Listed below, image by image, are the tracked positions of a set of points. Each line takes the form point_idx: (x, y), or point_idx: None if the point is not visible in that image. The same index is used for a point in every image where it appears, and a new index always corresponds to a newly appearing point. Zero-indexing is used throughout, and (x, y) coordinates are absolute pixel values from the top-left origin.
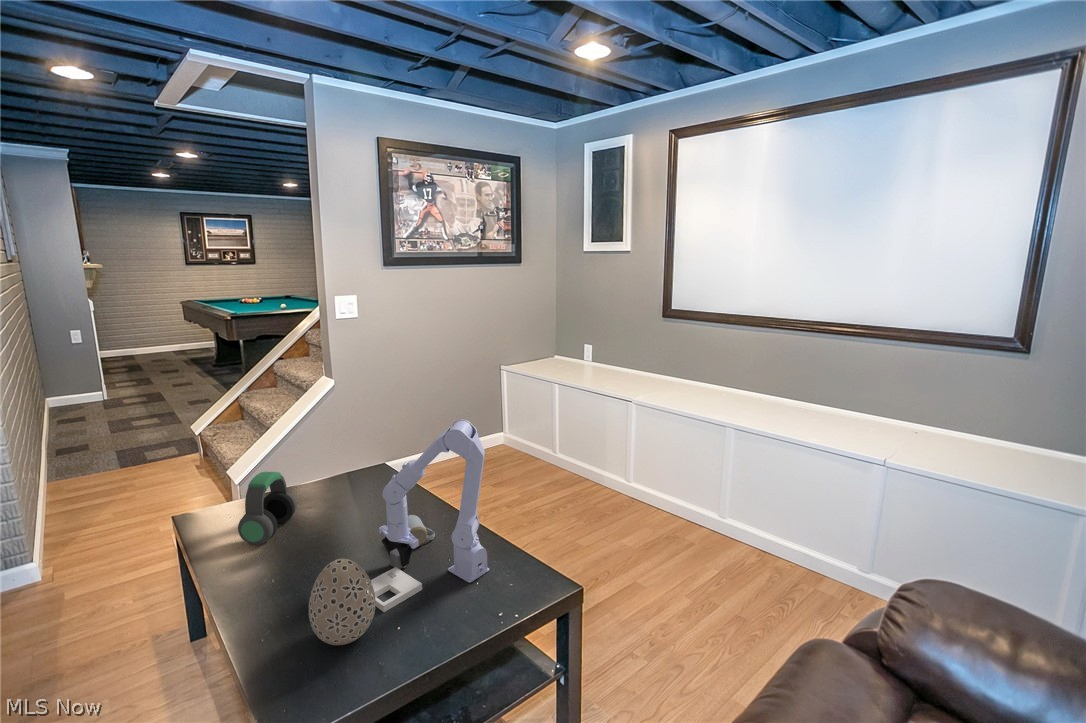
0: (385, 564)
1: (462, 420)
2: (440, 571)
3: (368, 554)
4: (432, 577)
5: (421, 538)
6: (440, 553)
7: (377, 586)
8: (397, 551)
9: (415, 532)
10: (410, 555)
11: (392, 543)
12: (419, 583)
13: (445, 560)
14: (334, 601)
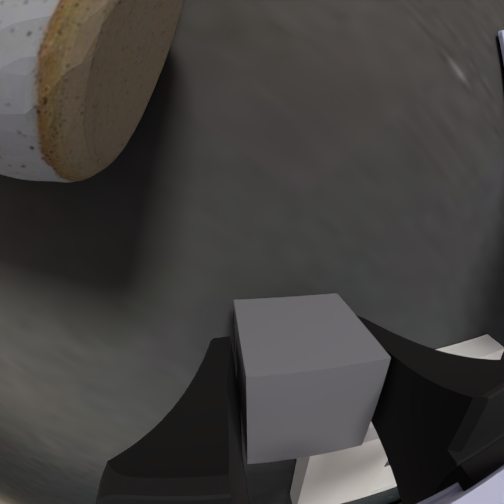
0: (179, 374)
1: None
2: (490, 190)
3: (23, 368)
4: (487, 253)
5: (163, 16)
6: (372, 34)
7: (360, 478)
8: (304, 431)
9: (111, 42)
10: (402, 339)
11: (244, 498)
12: (497, 355)
13: (449, 87)
14: None
